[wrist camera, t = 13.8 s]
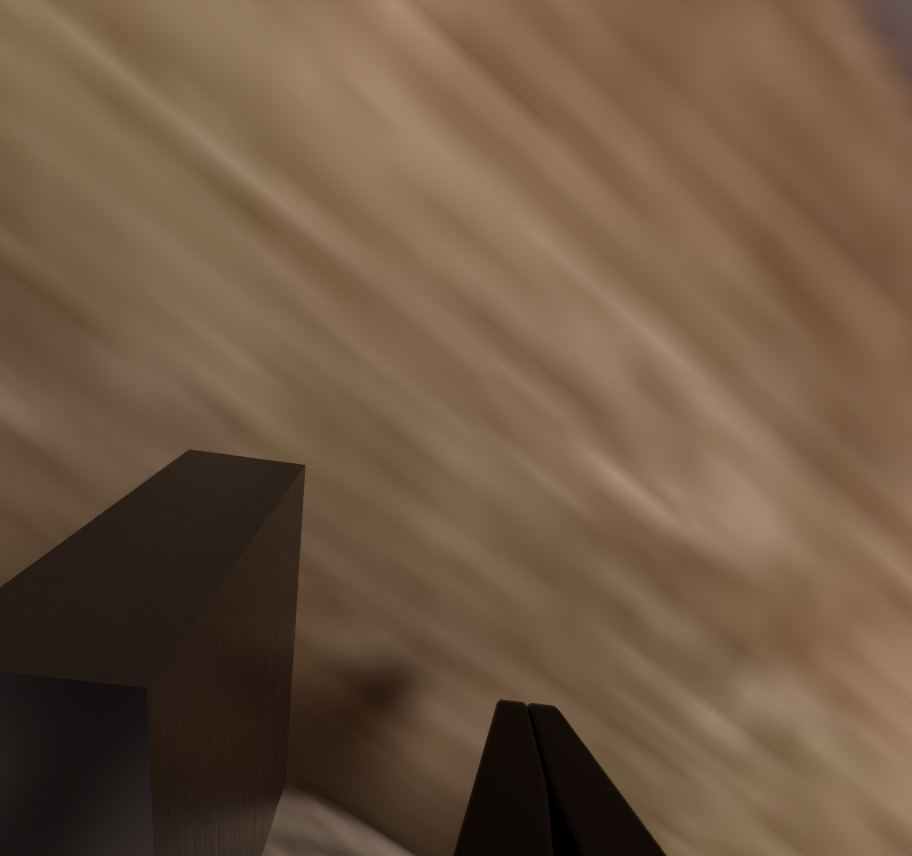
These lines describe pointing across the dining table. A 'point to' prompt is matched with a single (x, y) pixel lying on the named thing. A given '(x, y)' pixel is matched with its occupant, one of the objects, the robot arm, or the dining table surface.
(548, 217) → the dining table surface
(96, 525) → the sliding jaw
